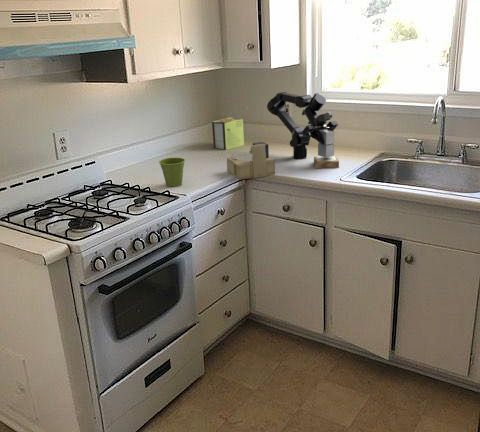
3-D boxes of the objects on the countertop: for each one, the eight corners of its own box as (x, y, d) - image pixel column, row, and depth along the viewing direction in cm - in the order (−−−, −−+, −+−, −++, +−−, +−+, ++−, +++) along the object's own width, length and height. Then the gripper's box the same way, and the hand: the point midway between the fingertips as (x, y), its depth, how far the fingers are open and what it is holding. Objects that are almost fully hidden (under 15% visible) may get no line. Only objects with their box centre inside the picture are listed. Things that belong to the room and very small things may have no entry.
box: (269, 165, 269) (268, 144, 266) (258, 166, 267) (257, 145, 264) (263, 161, 276) (262, 141, 272) (252, 163, 274) (252, 142, 271)
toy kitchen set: (261, 166, 267) (260, 136, 262) (276, 174, 253) (275, 143, 248) (226, 172, 261) (225, 141, 256) (239, 180, 246) (238, 148, 241)
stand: (315, 168, 259) (315, 161, 258) (313, 162, 270) (313, 156, 269) (338, 167, 259) (338, 160, 258) (336, 161, 269) (336, 155, 268)
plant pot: (156, 187, 241) (153, 163, 237) (168, 180, 251) (166, 156, 247) (180, 189, 237) (177, 164, 233) (191, 181, 247) (189, 158, 243)
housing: (317, 155, 264) (318, 131, 260) (325, 153, 266) (326, 129, 262) (326, 157, 259) (326, 132, 255) (333, 155, 262) (334, 131, 257)
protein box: (244, 145, 315) (243, 118, 310) (225, 150, 305) (224, 122, 299) (231, 143, 322) (230, 117, 316) (213, 148, 311) (211, 121, 306)
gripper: (305, 108, 253) (321, 135, 248) (336, 104, 262) (351, 130, 257) (295, 123, 262) (310, 149, 257) (325, 118, 271) (339, 143, 266)
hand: (328, 142), depth 259 cm, fingers closed on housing, 5 cm apart
